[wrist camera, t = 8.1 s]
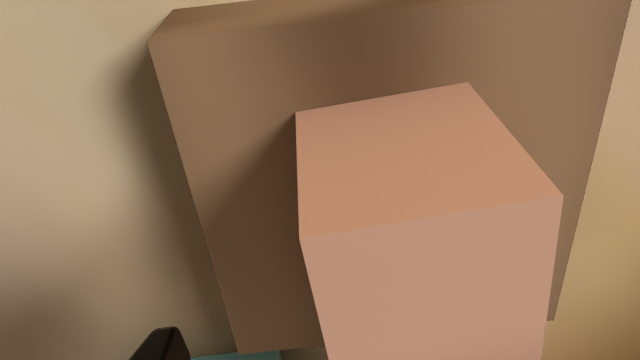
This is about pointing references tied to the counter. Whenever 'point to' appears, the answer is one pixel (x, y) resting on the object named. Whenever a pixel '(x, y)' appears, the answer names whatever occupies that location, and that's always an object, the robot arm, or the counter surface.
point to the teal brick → (243, 356)
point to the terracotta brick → (424, 229)
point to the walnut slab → (356, 85)
